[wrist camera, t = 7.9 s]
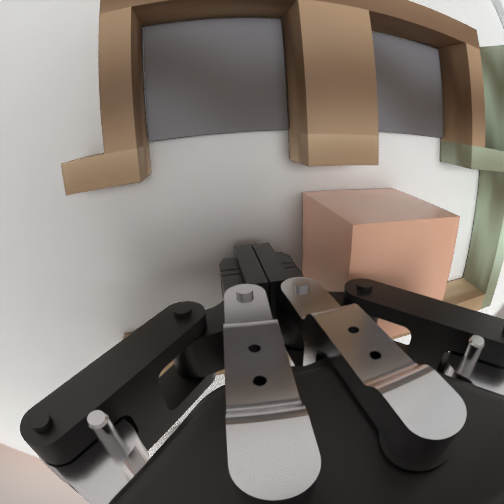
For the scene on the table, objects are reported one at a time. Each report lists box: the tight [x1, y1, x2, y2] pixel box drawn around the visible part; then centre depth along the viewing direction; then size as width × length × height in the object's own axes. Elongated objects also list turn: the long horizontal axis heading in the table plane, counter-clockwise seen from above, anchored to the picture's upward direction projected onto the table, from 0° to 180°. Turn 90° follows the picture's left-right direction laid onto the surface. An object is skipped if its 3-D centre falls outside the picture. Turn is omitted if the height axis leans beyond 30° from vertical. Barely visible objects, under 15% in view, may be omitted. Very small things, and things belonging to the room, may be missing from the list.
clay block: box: [302, 188, 460, 337], centre depth 13 cm, size 5×5×5 cm
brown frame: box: [61, 0, 504, 377], centre depth 12 cm, size 17×23×2 cm
